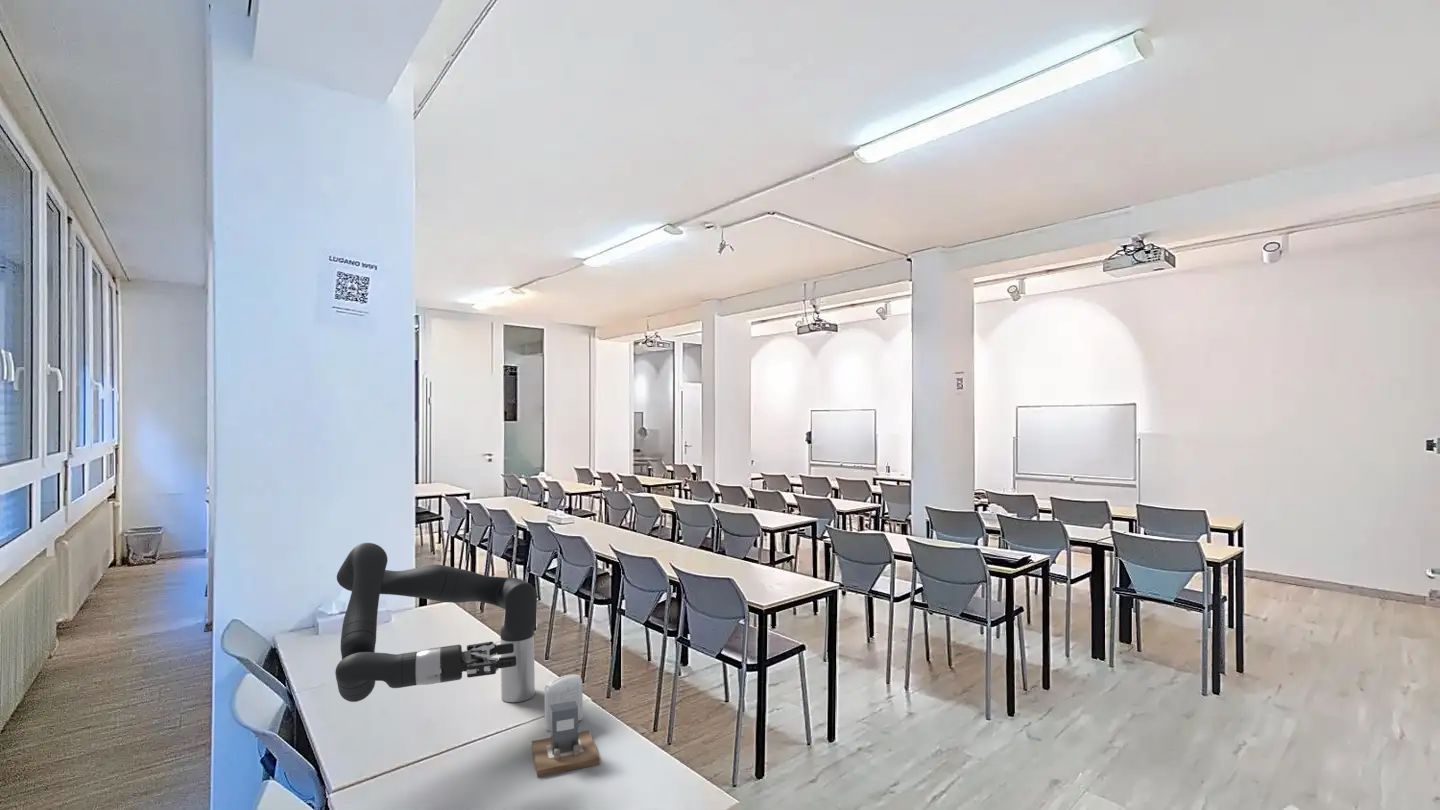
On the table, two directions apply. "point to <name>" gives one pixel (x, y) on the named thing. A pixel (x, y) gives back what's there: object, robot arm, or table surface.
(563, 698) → the photo printer
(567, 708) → the block
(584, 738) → the pin tray
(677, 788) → the table surface
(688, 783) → the table surface
